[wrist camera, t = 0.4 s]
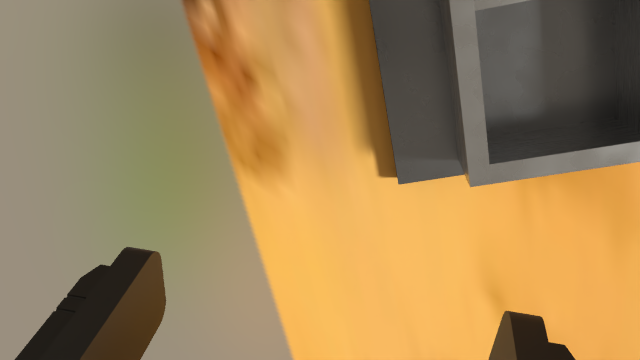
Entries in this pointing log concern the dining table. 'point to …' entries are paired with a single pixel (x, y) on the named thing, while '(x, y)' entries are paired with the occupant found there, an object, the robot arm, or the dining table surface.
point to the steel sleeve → (509, 86)
